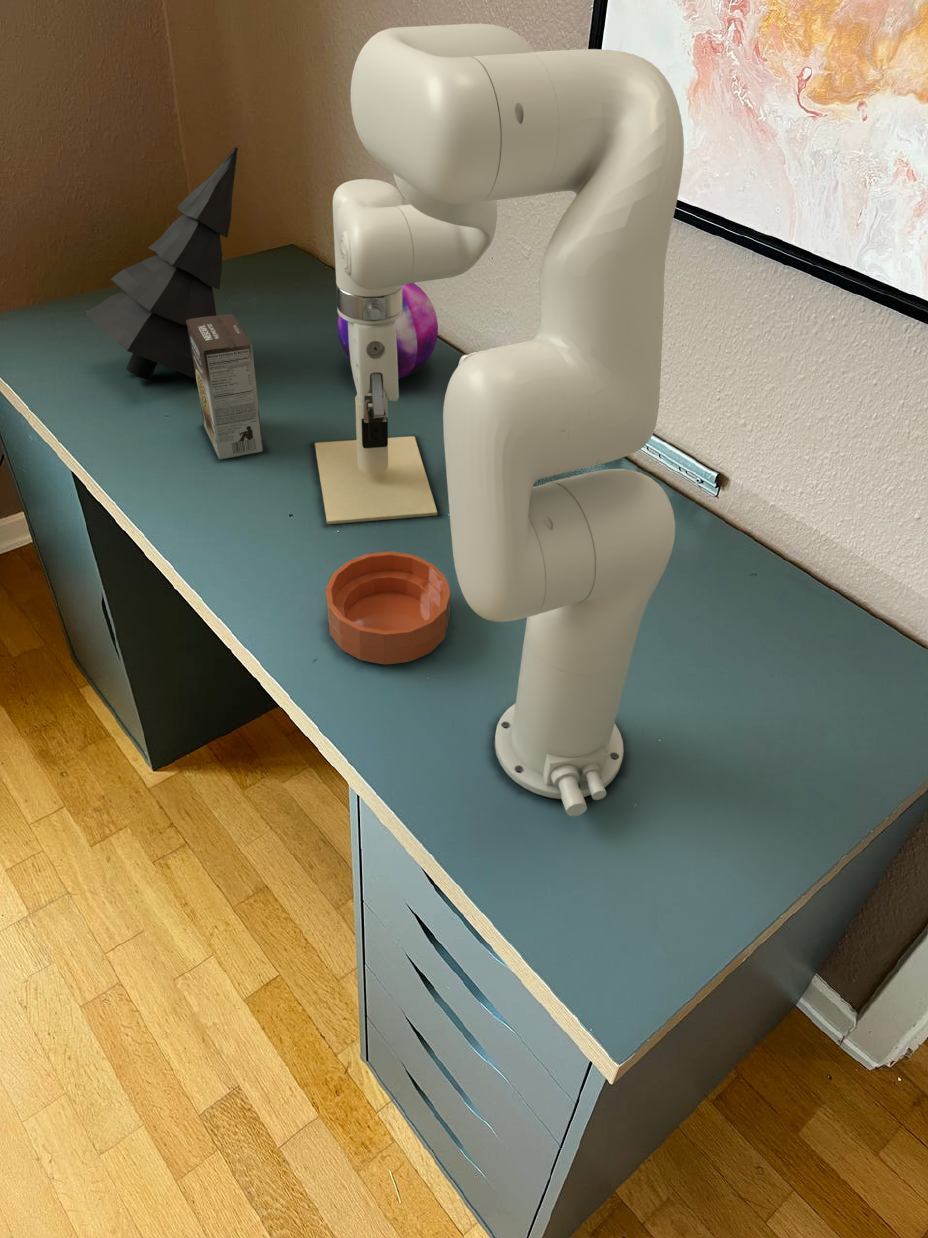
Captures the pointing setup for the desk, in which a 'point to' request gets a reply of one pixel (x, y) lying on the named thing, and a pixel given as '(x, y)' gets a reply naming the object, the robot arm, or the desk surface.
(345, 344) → the decorative orb
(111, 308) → the decorative tree
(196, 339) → the coffee box
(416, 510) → the mat
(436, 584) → the bowl
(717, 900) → the desk surface
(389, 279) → the robot arm
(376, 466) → the cream cylinder
